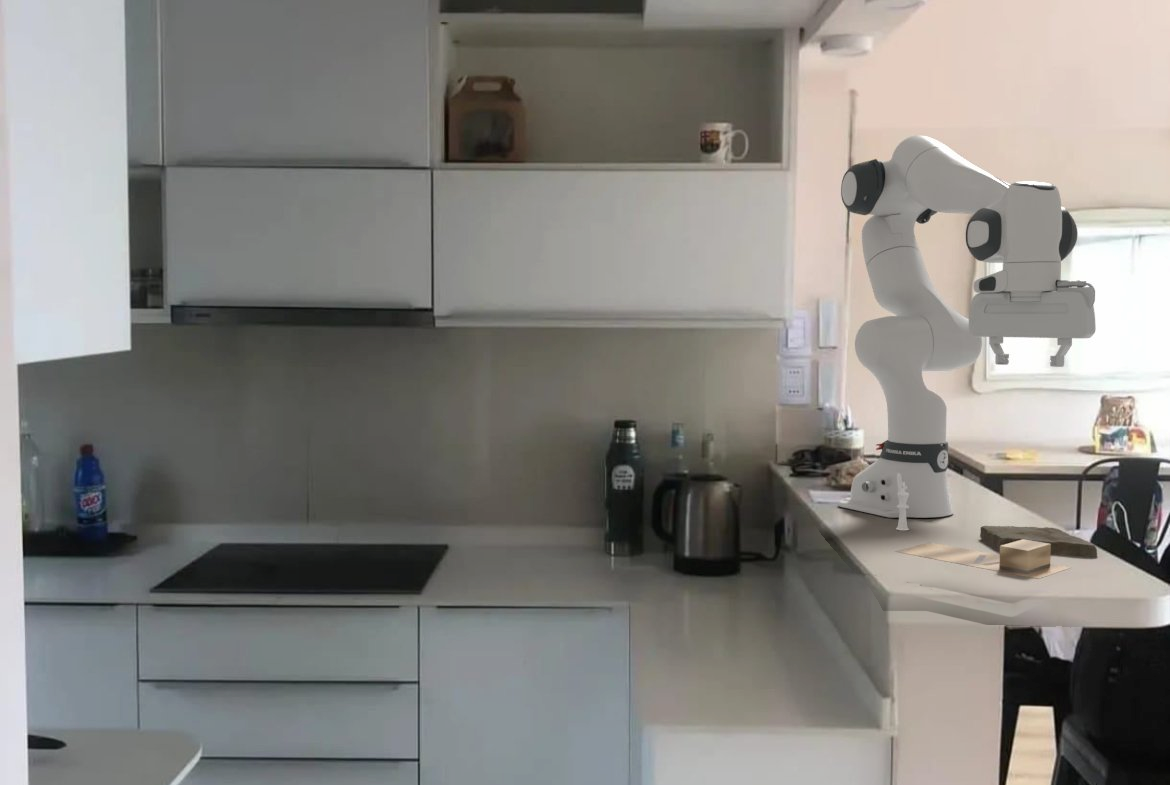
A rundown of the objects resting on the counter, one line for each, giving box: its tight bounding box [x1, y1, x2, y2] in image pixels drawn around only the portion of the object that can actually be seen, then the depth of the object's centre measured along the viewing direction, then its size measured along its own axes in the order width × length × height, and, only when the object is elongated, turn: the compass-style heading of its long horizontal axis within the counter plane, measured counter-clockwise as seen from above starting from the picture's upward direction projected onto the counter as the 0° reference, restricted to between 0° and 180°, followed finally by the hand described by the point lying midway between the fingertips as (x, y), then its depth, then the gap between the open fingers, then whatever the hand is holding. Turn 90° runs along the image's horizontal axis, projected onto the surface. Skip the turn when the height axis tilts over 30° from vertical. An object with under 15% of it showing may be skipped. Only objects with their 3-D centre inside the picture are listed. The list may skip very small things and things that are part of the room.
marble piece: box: [979, 525, 1098, 559], centre depth 181 cm, size 17×15×4 cm
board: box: [894, 542, 1070, 580], centre depth 171 cm, size 24×10×2 cm, turn 41°
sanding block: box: [999, 539, 1052, 574], centre depth 165 cm, size 4×7×4 cm, turn 131°
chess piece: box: [895, 482, 910, 532], centre depth 194 cm, size 5×5×10 cm
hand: (1029, 365), depth 180 cm, fingers open, 8 cm apart
